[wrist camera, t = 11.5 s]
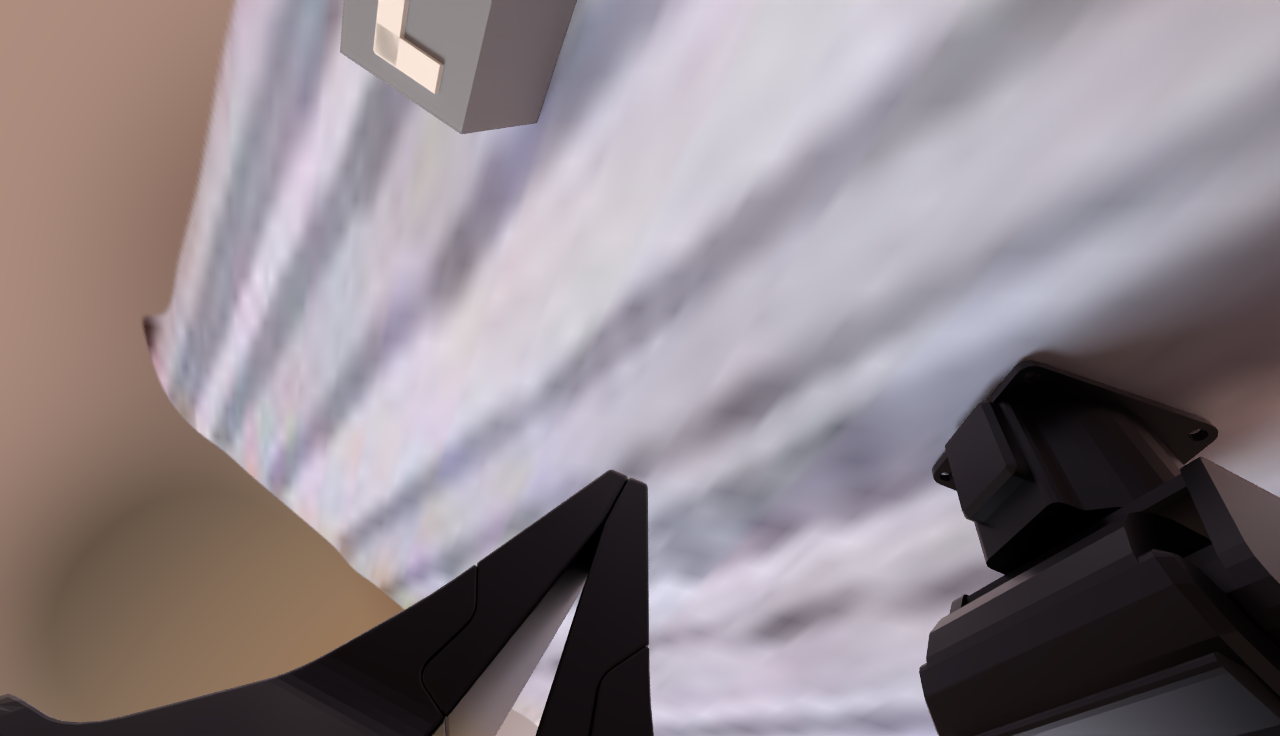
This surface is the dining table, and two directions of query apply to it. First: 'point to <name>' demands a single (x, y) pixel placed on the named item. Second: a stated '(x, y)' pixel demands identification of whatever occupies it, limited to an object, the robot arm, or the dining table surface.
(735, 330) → the dining table surface
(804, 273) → the dining table surface
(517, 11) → the slate marked block
